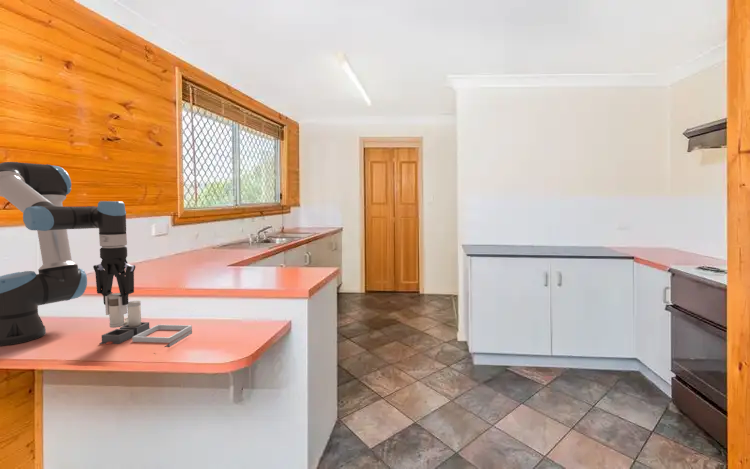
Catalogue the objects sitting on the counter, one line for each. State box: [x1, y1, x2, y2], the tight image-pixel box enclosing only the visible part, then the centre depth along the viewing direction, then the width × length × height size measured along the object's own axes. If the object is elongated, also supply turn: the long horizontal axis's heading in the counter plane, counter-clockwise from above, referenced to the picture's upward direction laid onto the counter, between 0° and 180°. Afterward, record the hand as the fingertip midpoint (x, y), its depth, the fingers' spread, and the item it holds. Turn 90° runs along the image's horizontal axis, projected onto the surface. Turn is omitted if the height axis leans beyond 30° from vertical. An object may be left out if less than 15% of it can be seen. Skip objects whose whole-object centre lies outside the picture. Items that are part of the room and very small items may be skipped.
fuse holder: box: [99, 321, 151, 345], centre depth 128 cm, size 7×16×4 cm, turn 176°
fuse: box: [127, 300, 142, 327], centre depth 132 cm, size 4×4×11 cm
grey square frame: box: [131, 324, 193, 348], centre depth 129 cm, size 13×13×3 cm
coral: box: [124, 317, 128, 326], centre depth 144 cm, size 6×10×4 cm, turn 37°
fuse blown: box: [108, 292, 125, 329], centre depth 124 cm, size 4×4×11 cm
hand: (116, 313), depth 124 cm, fingers closed on fuse blown, 4 cm apart
